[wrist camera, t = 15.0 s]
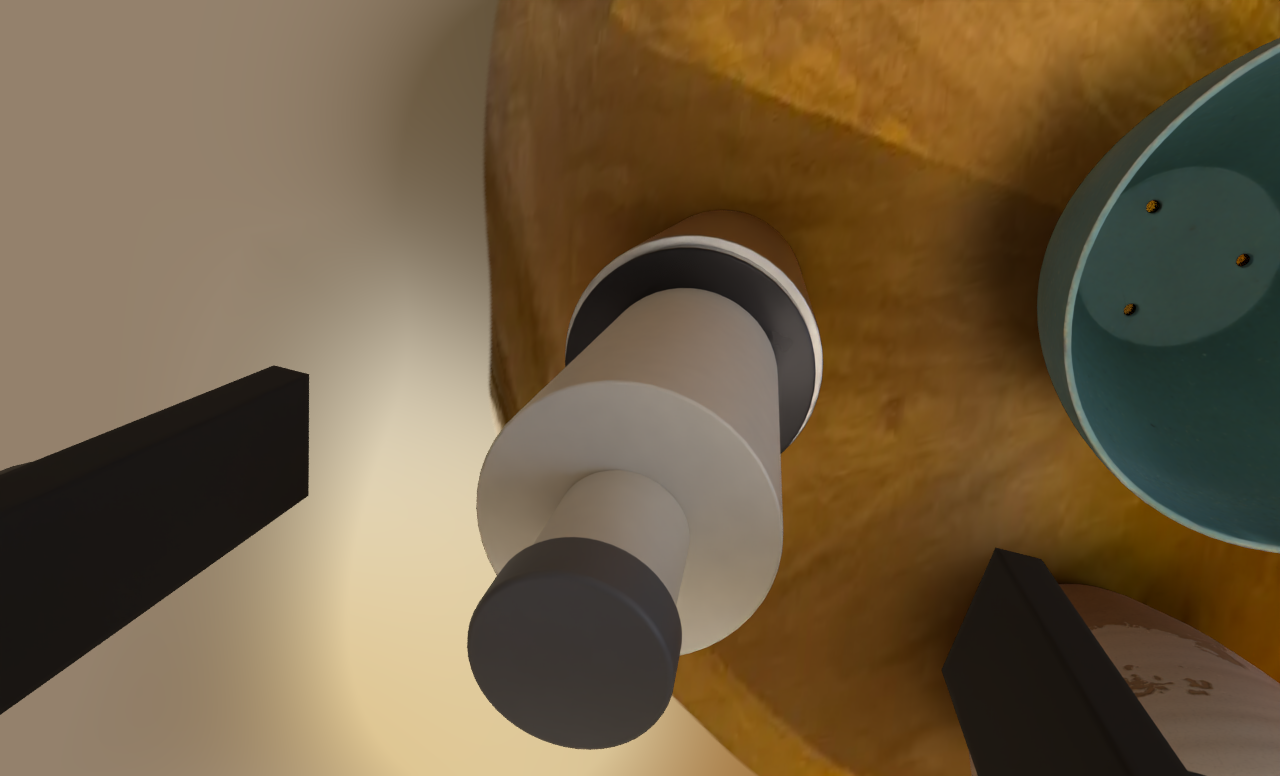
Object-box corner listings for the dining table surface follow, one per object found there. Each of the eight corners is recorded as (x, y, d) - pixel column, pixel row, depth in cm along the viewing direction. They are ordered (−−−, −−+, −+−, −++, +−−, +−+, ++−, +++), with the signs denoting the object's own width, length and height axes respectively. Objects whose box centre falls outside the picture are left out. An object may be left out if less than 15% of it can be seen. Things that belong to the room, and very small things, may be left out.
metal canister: (610, 297, 38) (506, 378, 23) (715, 173, 35) (674, 175, 20) (724, 399, 39) (695, 543, 24) (838, 287, 35) (887, 371, 21)
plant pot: (1034, 478, 37) (1154, 617, 25) (914, 175, 33) (989, 178, 22) (1436, 347, 31) (1823, 449, 20) (1344, -33, 28) (1750, -178, 16)
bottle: (564, 379, 23) (297, 646, 10) (678, 248, 21) (527, 373, 8) (692, 492, 23) (595, 888, 10) (817, 374, 21) (889, 691, 8)
